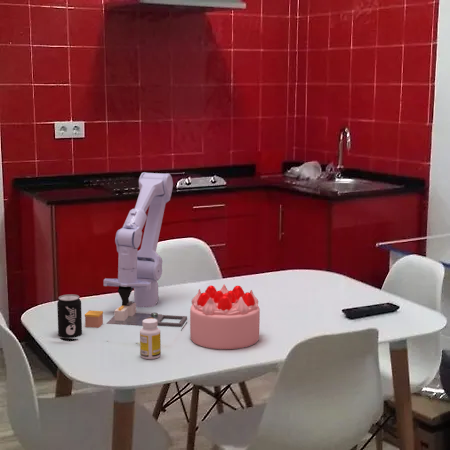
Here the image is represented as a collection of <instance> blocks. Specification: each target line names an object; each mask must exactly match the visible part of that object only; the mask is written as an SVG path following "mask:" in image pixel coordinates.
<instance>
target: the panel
mask: <svg viewBox="0 0 450 450" xmlns="http://www.w3.org/2000/svg"><path fill="white" fill-rule="evenodd" d="M161 315H163V314H161V313H158V312H151V313H146V312H145V313H144V312H136V313H135V314H134V315H133V316H128V318H127V319H126V320H125V321H117V320H115V315H114V316H112V317H111V318H110V319H109V321H107V322H106V324H107V325H120V326H122V325H124V326H139V327H143V326H142V321H143V320H144V319H156V320H157V319H158V318H159V317H160V316H161Z"/></svg>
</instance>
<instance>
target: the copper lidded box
mask: <svg viewBox="0 0 450 450" xmlns="http://www.w3.org/2000/svg"><path fill="white" fill-rule="evenodd" d="M103 317H104V311H103V310H88V311H87V312H86V313H84V320H85V321H84V326H85V328H96V329H98V328H100V327H101V326H102V325H103V324H104V319H103Z"/></svg>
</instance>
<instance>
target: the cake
mask: <svg viewBox="0 0 450 450" xmlns="http://www.w3.org/2000/svg"><path fill="white" fill-rule="evenodd" d="M243 289H244V288H243V287H241V286H240V285H235V286H234V287H233V289H232V290H228V288H227V286H226V285H225V284H223V285H222V286H221V288H220V290H217V288H216V287H215V286H214V285H209V286H207V287H206V289H205V290H204V292H201V289H198V292H197V294H196V295H195V296H194V297H193V298H192V299H191V306H190V309H189V310H190V311H189V313H190V314H189V317H190V318H189V322H190V323H189V325H190V326H189V333H190V334H189V337H190V340H191V341H192V343H194V344H196V345H197V346H200V347H202V348H203V347H204V348H206V349H214V350H237V349H238V348H239V349H243V348H244V347H245V348H248V347H250V345H251V346H253V345H255V344H257V342H258V341H259V339H260V325H261V324H260V322H261V320H260V319H261V318H260V316H261V315H260V314H261V313H260V311H261V309H260V306H259V300H258V298H257V297H256V296H255V295H254V292H253V290H252V289H251V290H250V291H248V292H245V291H244V290H243ZM245 348H244V349H245Z"/></svg>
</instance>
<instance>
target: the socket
mask: <svg viewBox="0 0 450 450" xmlns="http://www.w3.org/2000/svg"><path fill="white" fill-rule="evenodd" d="M165 319H166V320H180V321H178V322H167V321H166V322H165V321H163V320H165ZM187 320H188V316H187V315H173V314H172V315H168V314H162V315H161V316H160V317H159V318H158V319H157V321H158V326H157V327H172V328H173V327H174V328H181V330H180V332H182V330H183V329H184V328H185V326H186V325H187V324H188V321H187Z"/></svg>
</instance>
